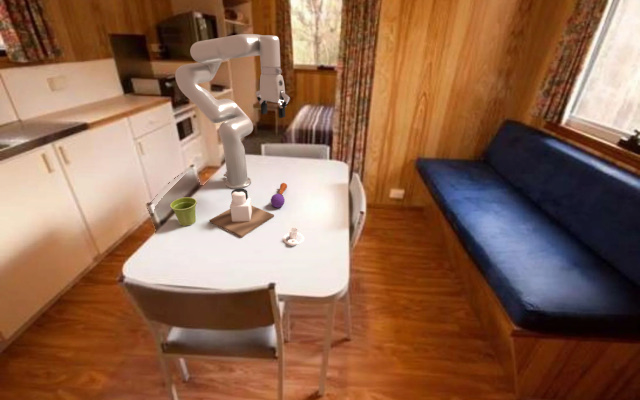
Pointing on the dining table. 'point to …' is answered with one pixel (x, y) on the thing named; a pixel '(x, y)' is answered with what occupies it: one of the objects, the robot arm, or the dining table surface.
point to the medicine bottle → (240, 206)
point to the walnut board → (243, 226)
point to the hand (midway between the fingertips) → (273, 115)
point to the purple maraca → (279, 197)
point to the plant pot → (185, 210)
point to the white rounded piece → (293, 237)
